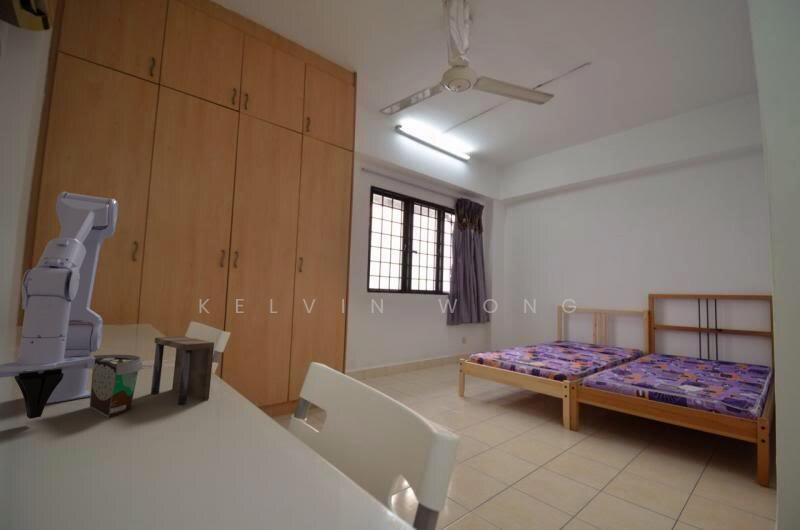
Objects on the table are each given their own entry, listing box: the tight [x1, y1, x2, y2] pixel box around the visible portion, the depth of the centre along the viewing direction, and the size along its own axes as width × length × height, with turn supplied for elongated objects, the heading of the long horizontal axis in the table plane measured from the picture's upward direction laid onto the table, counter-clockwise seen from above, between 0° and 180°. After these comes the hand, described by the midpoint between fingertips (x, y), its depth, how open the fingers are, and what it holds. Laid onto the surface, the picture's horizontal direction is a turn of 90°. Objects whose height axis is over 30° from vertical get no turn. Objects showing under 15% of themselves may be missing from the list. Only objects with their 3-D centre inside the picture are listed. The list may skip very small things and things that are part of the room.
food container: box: [89, 354, 144, 418], centre depth 72 cm, size 12×6×10 cm, turn 58°
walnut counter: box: [150, 335, 215, 406], centre depth 82 cm, size 14×6×13 cm, turn 58°
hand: (33, 416), depth 62 cm, fingers closed
